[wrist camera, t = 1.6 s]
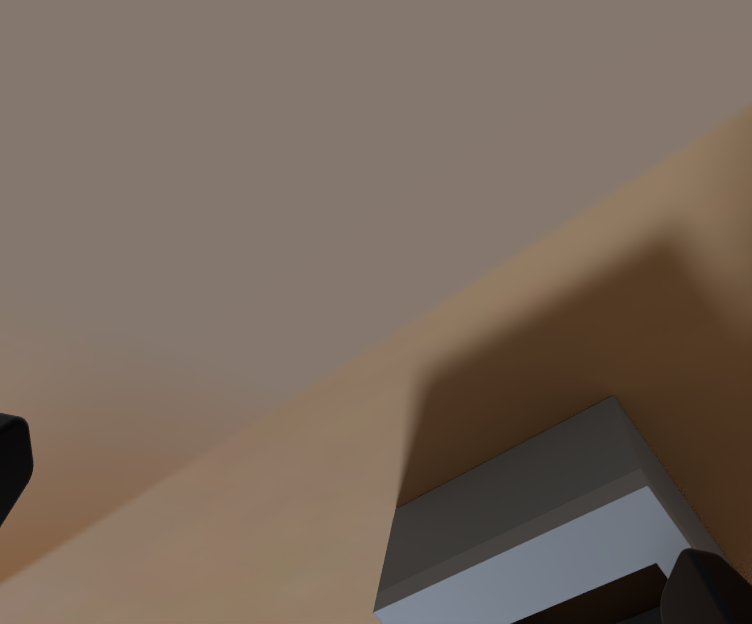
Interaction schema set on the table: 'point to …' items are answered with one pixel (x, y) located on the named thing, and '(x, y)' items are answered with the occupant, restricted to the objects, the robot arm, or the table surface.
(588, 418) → the posting box
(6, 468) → the robot arm
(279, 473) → the table surface
